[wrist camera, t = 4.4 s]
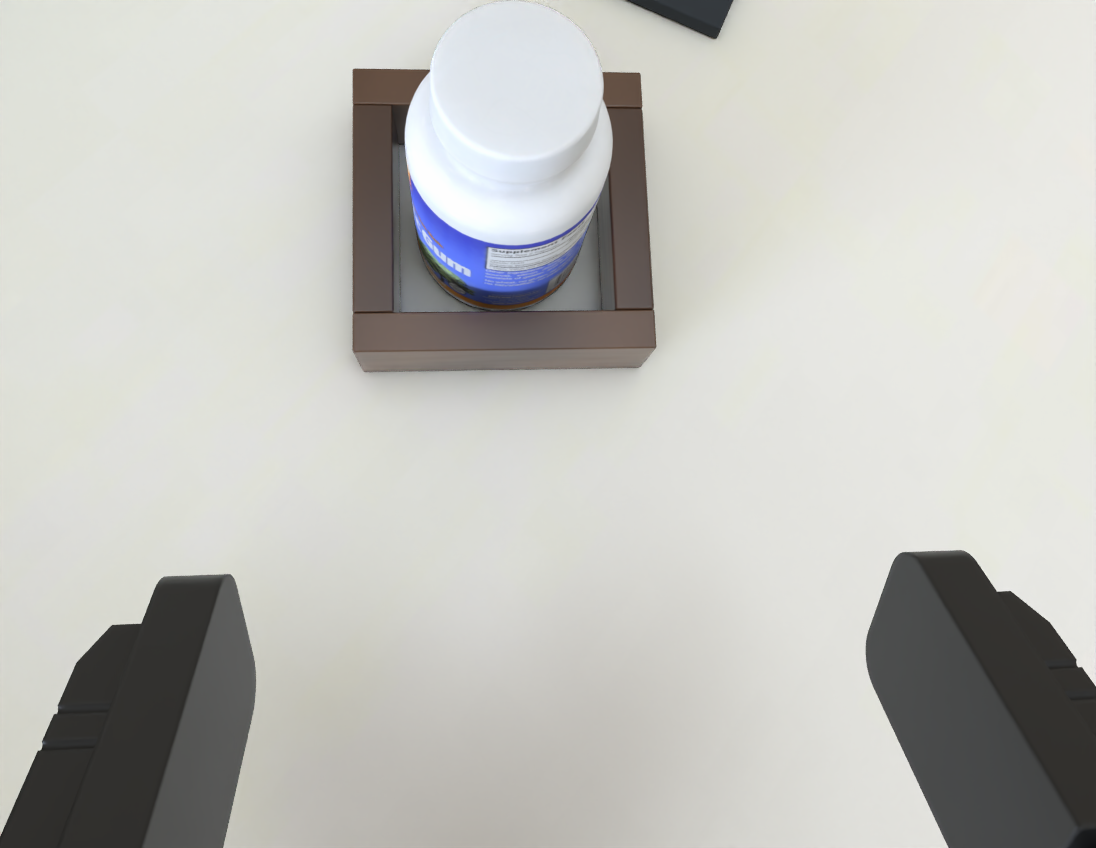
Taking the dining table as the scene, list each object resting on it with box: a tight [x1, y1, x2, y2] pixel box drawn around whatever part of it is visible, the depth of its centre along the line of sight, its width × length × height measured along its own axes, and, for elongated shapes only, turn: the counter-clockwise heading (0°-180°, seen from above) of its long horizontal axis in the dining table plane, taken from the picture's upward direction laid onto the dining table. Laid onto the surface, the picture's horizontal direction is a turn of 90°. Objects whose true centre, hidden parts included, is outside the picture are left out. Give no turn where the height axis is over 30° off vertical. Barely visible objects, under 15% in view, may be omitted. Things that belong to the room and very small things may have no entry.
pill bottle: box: [405, 0, 613, 311], centre depth 25 cm, size 5×5×10 cm
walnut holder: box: [353, 69, 656, 372], centre depth 28 cm, size 9×9×3 cm
